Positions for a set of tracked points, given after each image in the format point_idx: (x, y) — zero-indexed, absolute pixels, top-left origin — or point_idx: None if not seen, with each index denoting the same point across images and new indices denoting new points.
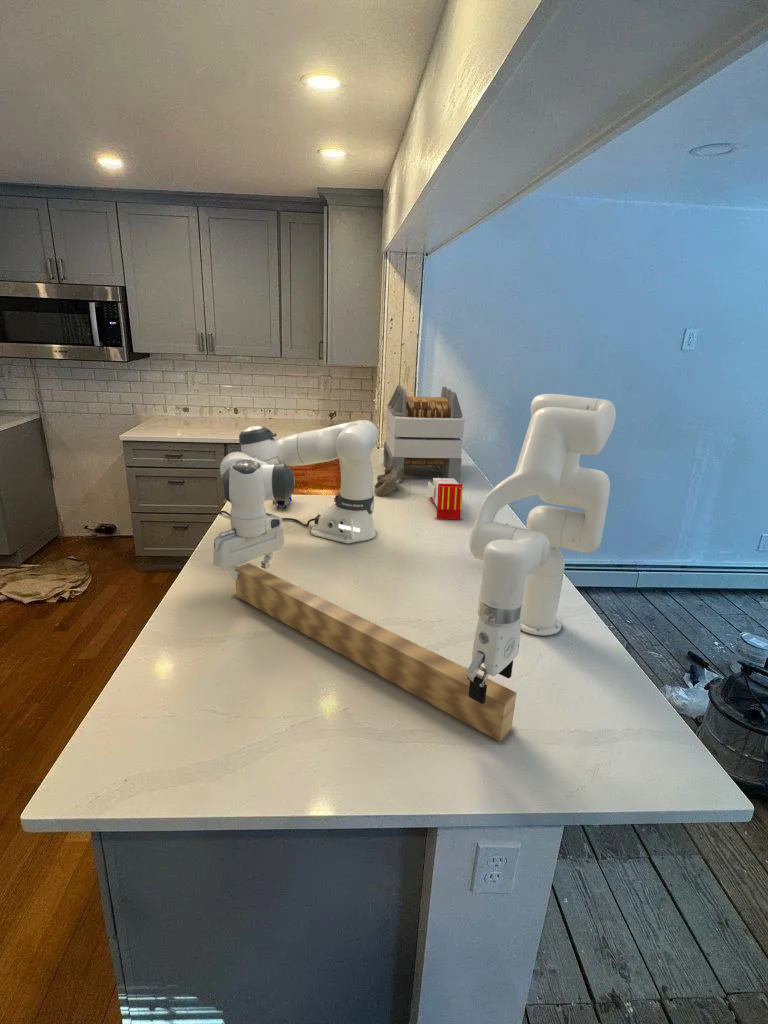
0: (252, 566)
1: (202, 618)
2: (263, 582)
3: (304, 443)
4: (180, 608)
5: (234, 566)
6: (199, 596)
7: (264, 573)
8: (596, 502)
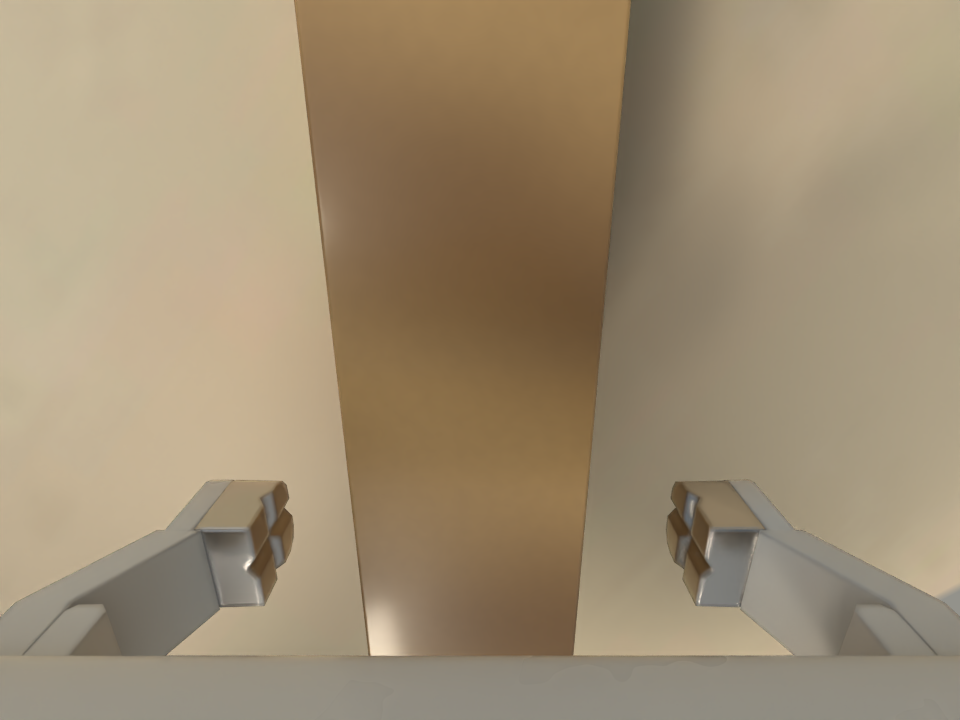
0: (393, 598)
1: (885, 393)
2: (619, 100)
3: None
4: None
5: (934, 653)
6: (680, 608)
7: (399, 350)
8: None
